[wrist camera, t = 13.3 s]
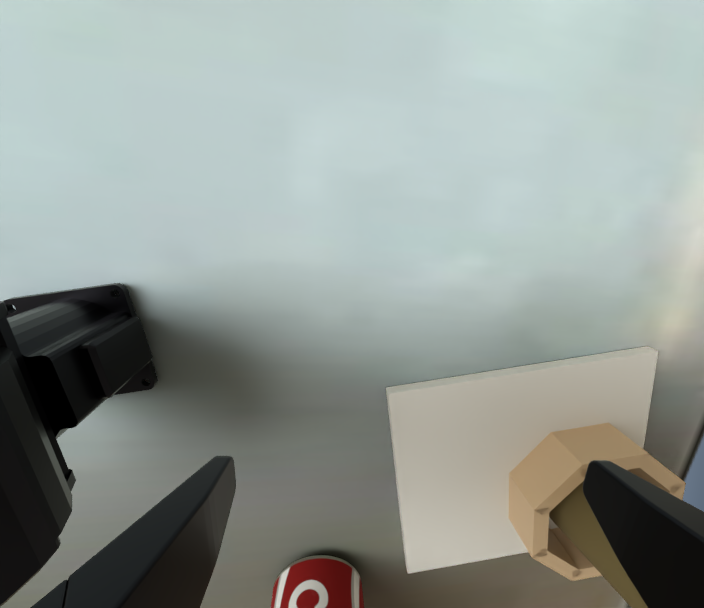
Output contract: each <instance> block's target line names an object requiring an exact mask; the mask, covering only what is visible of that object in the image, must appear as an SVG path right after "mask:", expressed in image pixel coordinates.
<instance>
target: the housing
mask: <svg viewBox="0 0 704 608" xmlns="http://www.w3.org/2000/svg"><path fill="white" fill-rule="evenodd" d="M657 357H658V351H657V350H655V349H652V348H650V347H648V346H645V347H639V348H633V349H626V350H620V351H614V352H607V353H601V354H595V355H588V356H582V357H576V358H569V359H563V360H557V361H550V362H544V363H538V364H531V365H525V366H519V367H512V368H506V369H500V370H493V371H487V372H481V373H474V374H468V375H462V376H455V377H449V378H443V379H436V380H430V381H424V382H417V383H411V384H405V385H398V386H392V387H386V396H387V404H388V413H389V422H390V431H391V440H392V449H393V458H394V467H395V475H396V484H397V493H398V502H399V511H400V520H401V529H402V538H403V546H404V555H405V564H406V568H407V572H408V574H409V573H415V572H420V571H426V570H431V569H437V568H443V567H448V566H454V565H459V564H465V563H470V562H476V561H481V560H487V559H492V558H498V557H503V556H509V555H514V554H520V553H526V552H529V553H530V555H531V557H532V558H533V559H535V560H537V561H539V562H540V563H542V564H544V565H545V566H547V567H549V568H551V569H552V570H554V571H556V572H557V573H559V574H561V575H562V576H564V577H566V578H568V579H569V580H571V581H575V580H581V579H586V578H591V577H597V576H602V575H601V574H600V572H599V571H598V570H597V569H596V568H595V567H594V566H593V565H592V564H591V563H590V561H589V560H588V559H587V558H586V557H585V556H584V555H583V554H582V553H581V552H580V550H579V549H578V548H577V547H576V546H575V545H574V544H573V543H572V542H571V541H570V540H569V538H568V537H567V536H566V535H565V534H564V533H563V532H562V531H561V530H560V529H559V527H558V526H557V525H556V524H555V523H554V522H553V521H552V520H551V519H550V518H549V512H550V511H551V510H552V509H554V508H555V507H556V506H557V505H558V504H559V503H560V502H561V501H562V500H563V499H564V498H565V497H566V496H568V495H569V494H570V493H571V492H572V491H573V490H574V489H575V488H576V487H577V486H578V485H579V484H581V483H582V482H583V481H584V478H585V475H586V471H587V468H588V464H589V463H590V462H591V461H593V460H607V461H611V462H613V463H615V464H616V465H618V466H620V467H622V468H624V469H626V470H627V471H629V472H631V473H633V474H635V475H637V476H638V477H640V478H642V479H644V480H646V481H648V482H650V483H651V484H653V485H655V486H657V487H659V488H661V489H662V490H664V491H666V492H668V493H670V494H672V495H673V496H675V497H677V498H679V499H681V500H682V499H683V494H684V489H685V484H686V483H685V482H684V481H683V480H681V479H680V478H679V477H677V476H676V475H675V474H674V473H672V472H671V471H670V470H668V469H667V468H666V467H665V466H663V465H662V464H661V463H660V462H658V461H657V460H656V459H655V458H653V457H652V456H651V455H649V454H648V453H647V452H646V451H645V450H644V449H643V448H644V441H645V435H646V428H647V422H648V416H649V409H650V403H651V396H652V390H653V383H654V377H655V370H656V364H657Z"/></svg>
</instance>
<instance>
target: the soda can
mask: <svg viewBox="0 0 704 608" xmlns="http://www.w3.org/2000/svg"><path fill="white" fill-rule="evenodd" d="M271 608H364V601H363V591H362V582H361V578H360V575H359V573H358V572H357V570H356V569H355V568H354V567H353V566H352V565H351V564H350V563H348V562H347V561H345V560H343V559H340V558H337V557H333V556H327V555H316V556H309V557H305V558H302V559H299V560H297V561H295V562H293V563H291V564H290V565H288V566H287V567H286V568H285V569H283V570H282V572H281V573H280V574H279V575H278V577H277V579H276V581H275V583H274V587H273V595H272V602H271Z"/></svg>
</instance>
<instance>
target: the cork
mask: <svg viewBox="0 0 704 608" xmlns="http://www.w3.org/2000/svg"><path fill="white" fill-rule="evenodd" d="M583 482H584V481H583ZM583 482H582V483H581V484H579V485H578V486H577V487H576V488H575V489H574V490H573V491H572V492H571V493H570V494H569V495H568V496H566V497H565V498H564V499H563V500H562V501H561V502H560V503H559V504H558V505H557V506H556V507H555V508H554V509H552V510H551V511H550V512H549V518H550V519H551V520H552V521H553V522H554V523H555V524H556V525H557V526H558V527H559V529H560V530H561V531H562V532H563V533H564V534H565V535H566V536H567V537H568V538H569V540H570V541H571V542H572V543H573V544H574V545H575V546H576V547H577V548H578V549H579V550H580V552H581V553H582V554H583V555H584V556H585V557H586V558H587V559H588V560H589V561H590V563H591V564H592V565H593V566H594V567H595V568H596V569H597V570H598V571H599V572H600V574H601V575H602V576H603V577H604V578H605V579H606V580H607V581H608V582H609V583H610V584H611V586H612V587H613V588H614V589H615V590H616V591H617V592H618V593H619V594H620V595H621V597H622V598H623V599H624V600H625V601H626V602H627V603H628V604H629V605H630V606H631V607H632V608H648V607H647V606H646V604H645V602H644V601H643V599H642V598H641V596H640V594H639V593H638V591H637V590H636V588H635V587H634V585H633V583H632V582H631V580H630V579H629V577H628V575H627V574H626V572H625V571H624V569H623V567H622V566H621V564H620V562H619V560H618V559H617V557H616V555H615V553H614V551H613V549H612V548H611V546H610V544H609V542H608V540H607V538H606V536H605V534H604V532H603V530H602V529H601V527H600V525H599V523H598V521H597V519H596V517H595V515H594V513H593V511H592V510H591V508H590V506H589V504H588V502H587V500H586V498H585V496H584V493H583Z"/></svg>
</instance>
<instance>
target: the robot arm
mask: <svg viewBox="0 0 704 608" xmlns="http://www.w3.org/2000/svg"><path fill="white" fill-rule="evenodd" d="M115 289H116V290H117V291H118V292H119V293H120V296H117V295H115V293H114V290H115ZM12 305H14V306H15V307H16V310H15V309H14V308H13V306H12ZM151 359H152V354H151V351H150V348H149V345H148V342H147V339H146V336H145V333H144V330H143V327H142V324H141V321H140V319H138V318H137V316H136V313H135V310H134V307H133V304H132V301H131V298H130V295H129V292H128V290H127V288H126V287H125V286H124V285H122V284H120V283H114V284H107V285H100V286H93V287H86V288H79V289H72V290H64V291H57V292H50V293H43V294H36V295H29V296H22V297H15V298H11V299H8V300H5V301H0V606H2V605H3V604H4V603H5V602H7V601H8V600H9V599H10V598H11V597H12V596H13V595H14V594H15V593H16V592H17V591H18V590H20V589H21V588H22V587H23V586H24V585H25V584H26V583H27V582H28V581H29V580H30V579H31V578H32V577H34V576H35V575H36V574H37V573H38V572H39V571H40V569H41V568H42V567H43V566H44V565H45V564H46V562H47V561H48V560H49V559H50V558H51V556H52V555H53V554H54V553H55V552H56V550H57V549H58V548H59V546H60V539H59V537H58V536H59V535H60V534H61V532H62V530H63V528H64V526H65V524H66V522H67V520H68V518H69V516H70V514H71V512H72V494H71V490H72V488H73V486H74V483H75V481H76V479H75V476H74V474H73V471H72V470H71V469H68V467H67V465H66V462H65V460H64V457H63V455H62V452H61V450H60V447H59V445H58V443H57V440H56V439H57V438H58V437H59V436H60V435H61V434H63V433H64V432H65V431H66V430H67V429H68V428H73V427H75V426H77V425H78V424H79V423H80V422H81V421H82V420H84V419H85V418H86V417H87V416H88V415H89V414H90V413H91V412H92V411H94V410H95V409H96V408H97V407H98V406H99V405H100V404H101V403H102V402H104V401H105V400H106V399H107V398H110V397H112V396H113V395H117V394H123V393H130V392H136V391H143V390H149V389H151V388H153V387H154V386H155V385H156V383H157V381H158V378H157V375H156V372H155V369H154V366H153V363H152V360H151ZM145 379H148V380H149V381H150V383H148V382H146V381H145ZM235 489H236V478H235V468H234V460H233V458H232V457H231V456H216V457H214V458H213V459H211V460H210V461H209V462H208V463H207V464H205V465H204V466H203V467H202V468H200V469H199V470H198V471H197V472H196V473H194V474H193V475H192V476H191V477H190V478H188V479H187V480H186V481H185V482H183V483H182V484H181V485H180V486H179V487H177V488H176V489H175V490H174V491H173V492H171V493H170V494H169V495H168V496H166V497H165V498H164V499H163V500H162V501H160V502H159V503H158V504H157V505H155V506H154V507H153V508H152V509H151V510H149V511H148V512H147V513H146V514H145V515H143V516H142V517H141V518H140V519H138V520H137V521H136V522H135V523H134V524H132V525H131V526H130V527H129V528H128V529H126V530H125V531H124V532H123V533H121V534H120V535H119V536H118V537H117V538H115V539H114V540H113V541H112V542H110V543H109V544H108V545H107V546H106V547H104V548H103V549H102V550H101V551H100V552H98V553H97V554H96V555H95V556H93V557H92V558H91V559H90V560H89V561H87V562H86V563H85V564H84V565H83V566H81V567H80V568H79V569H78V570H76V571H75V572H74V573H73V574H72V575H70V577H69V579H68V580H64V581H63V582H62V583H60V584H59V585H58V586H57V587H56V588H54V589H53V590H52V591H51V592H49V593H48V594H47V595H46V596H45V597H43V598H42V599H41V600H40V601H38V602H37V603H36V604H35V605H33V606H32V607H31V608H200V605H201V603H202V600H203V597H204V595H205V592H206V589H207V586H208V584H209V581H210V578H211V576H212V573H213V570H214V567H215V564H216V561H217V558H218V554H219V551H220V547H221V543H222V539H223V536H224V532H225V528H226V524H227V520H228V517H229V513H230V509H231V505H232V502H233V498H234V494H235ZM583 493H584V496H585V498H586V500H587V502H588V504H589V506H590V508H591V510H592V511H593V513H594V515H595V517H596V519H597V521H598V523H599V525H600V527H601V529H602V530H603V532H604V534H605V536H606V538H607V540H608V542H609V544H610V546H611V548H612V549H613V551H614V553H615V555H616V557H617V559H618V560H619V562H620V564H621V566H622V567H623V569H624V571H625V572H626V574H627V575H628V577H629V579H630V580H631V582H632V583H633V585H634V587H635V588H636V590H637V591H638V593H639V594H640V596H641V598H642V599H643V601H644V602H645V604H646V606H647V607H648V608H704V512H703V511H701V510H699V509H697V508H695V507H694V506H692V505H690V504H688V503H686V502H684V501H683V500H681V499H679V498H677V497H675V496H673V495H672V494H670V493H668V492H666V491H664V490H662V489H661V488H659V487H657V486H655V485H653V484H651V483H650V482H648V481H646V480H644V479H642V478H640V477H638V476H637V475H635V474H633V473H631V472H629V471H627V470H626V469H624V468H622V467H620V466H618V465H616V464H615V463H613V462H611V461H607V460H593V461H591V462H590V463H589V464H588V468H587V471H586V475H585V478H584V482H583Z"/></svg>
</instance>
